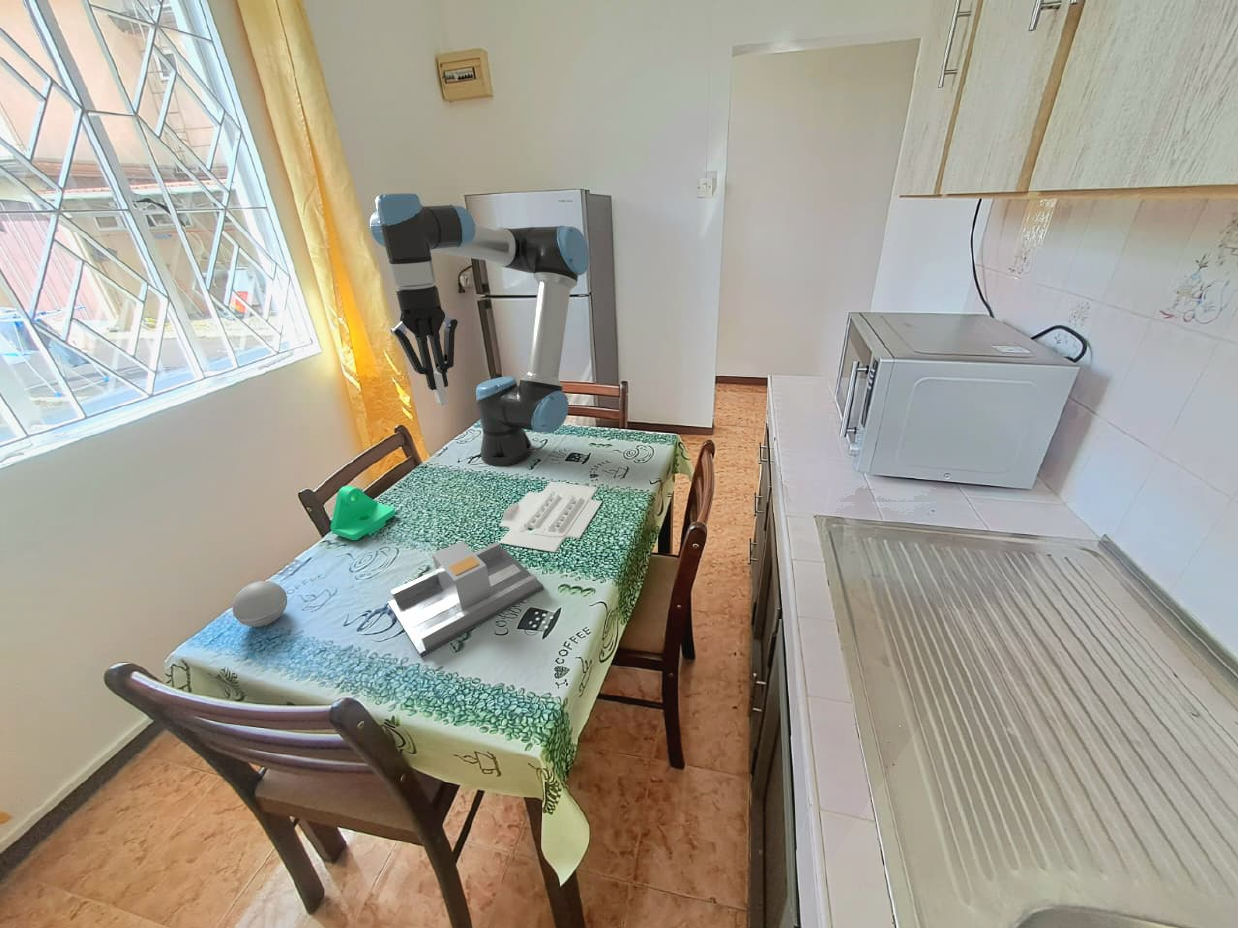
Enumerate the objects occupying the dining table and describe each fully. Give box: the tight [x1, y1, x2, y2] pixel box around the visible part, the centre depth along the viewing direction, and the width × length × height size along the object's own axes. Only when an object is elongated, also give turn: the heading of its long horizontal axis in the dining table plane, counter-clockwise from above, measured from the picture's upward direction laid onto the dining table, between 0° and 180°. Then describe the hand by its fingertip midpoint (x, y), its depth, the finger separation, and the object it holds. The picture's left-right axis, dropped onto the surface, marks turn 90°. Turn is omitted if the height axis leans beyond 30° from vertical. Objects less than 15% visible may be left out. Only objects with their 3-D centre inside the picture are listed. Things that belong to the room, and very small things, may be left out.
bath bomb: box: [232, 580, 288, 628], centre depth 88 cm, size 8×8×8 cm
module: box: [431, 540, 493, 612], centre depth 90 cm, size 6×10×8 cm, turn 40°
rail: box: [388, 541, 545, 658], centre depth 92 cm, size 24×16×3 cm, turn 130°
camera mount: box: [330, 485, 396, 541], centre depth 114 cm, size 12×8×10 cm, turn 155°
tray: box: [498, 481, 603, 553], centre depth 117 cm, size 20×28×4 cm
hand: (442, 402), depth 104 cm, fingers closed
